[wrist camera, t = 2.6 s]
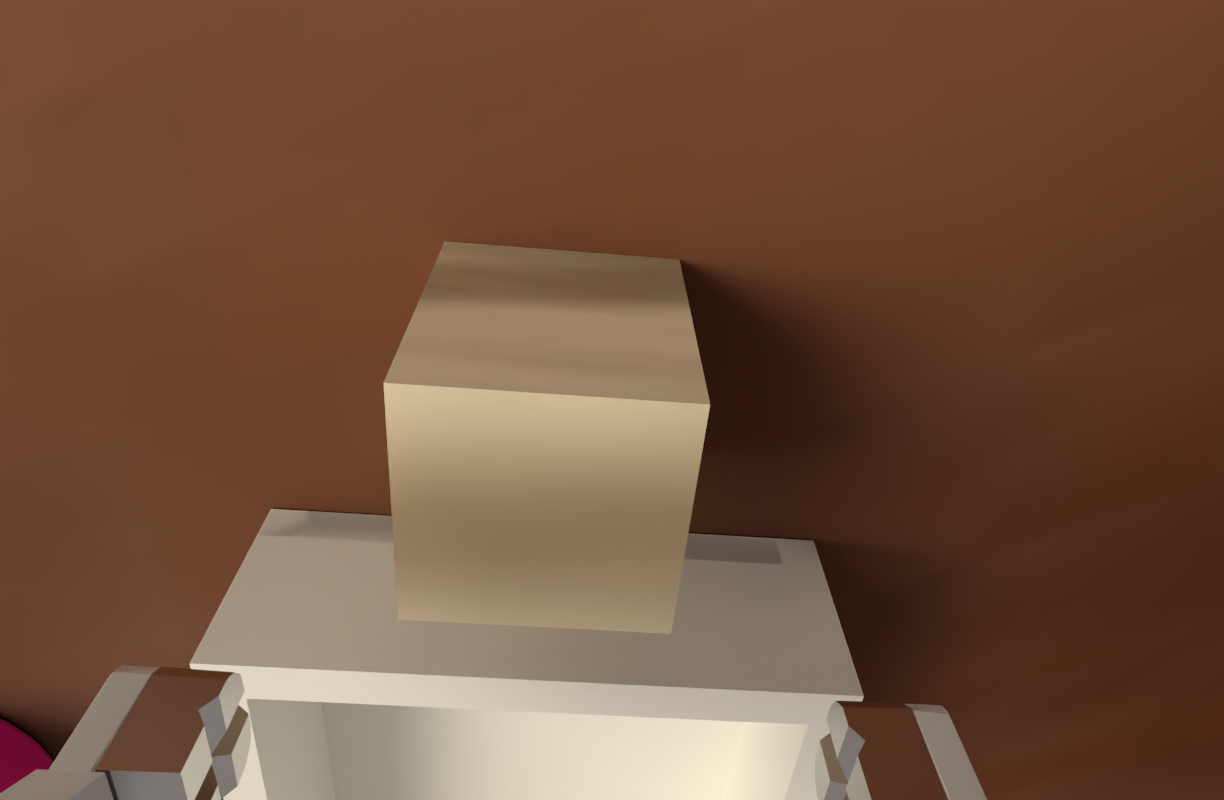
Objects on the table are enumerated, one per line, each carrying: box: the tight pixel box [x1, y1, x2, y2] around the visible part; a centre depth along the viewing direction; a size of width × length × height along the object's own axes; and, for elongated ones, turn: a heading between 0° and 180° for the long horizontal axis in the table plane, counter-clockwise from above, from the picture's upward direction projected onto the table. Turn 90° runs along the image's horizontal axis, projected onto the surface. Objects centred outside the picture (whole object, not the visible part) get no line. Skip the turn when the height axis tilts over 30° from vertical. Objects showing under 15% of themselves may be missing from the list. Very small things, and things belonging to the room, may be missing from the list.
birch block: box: [384, 241, 710, 634], centre depth 17 cm, size 5×5×6 cm
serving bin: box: [190, 509, 864, 800], centre depth 23 cm, size 14×14×5 cm
